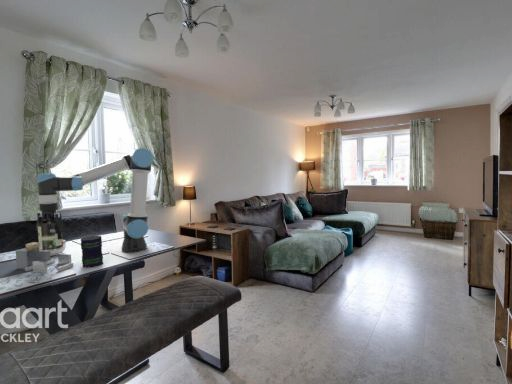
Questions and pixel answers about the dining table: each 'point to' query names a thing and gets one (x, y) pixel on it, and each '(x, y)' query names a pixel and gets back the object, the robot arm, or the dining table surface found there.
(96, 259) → the storage jar
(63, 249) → the lidded jar
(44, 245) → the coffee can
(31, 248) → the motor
